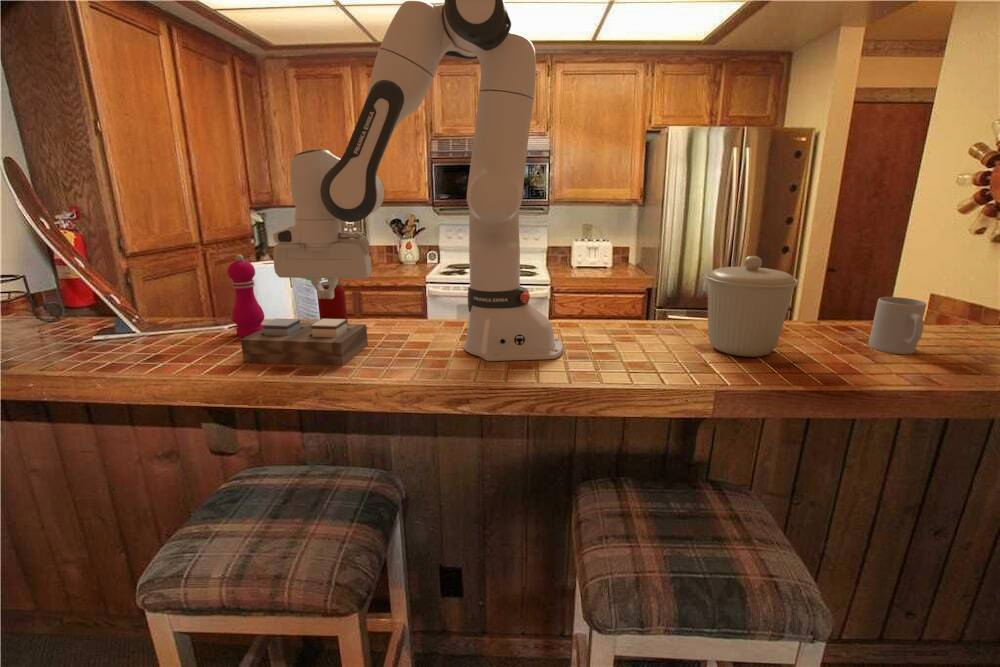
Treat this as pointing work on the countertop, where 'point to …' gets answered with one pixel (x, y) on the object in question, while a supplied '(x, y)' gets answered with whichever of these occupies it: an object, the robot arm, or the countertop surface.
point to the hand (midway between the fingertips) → (326, 298)
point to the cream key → (329, 328)
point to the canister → (747, 307)
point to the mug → (897, 325)
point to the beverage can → (333, 303)
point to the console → (305, 346)
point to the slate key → (282, 327)
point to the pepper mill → (245, 298)
